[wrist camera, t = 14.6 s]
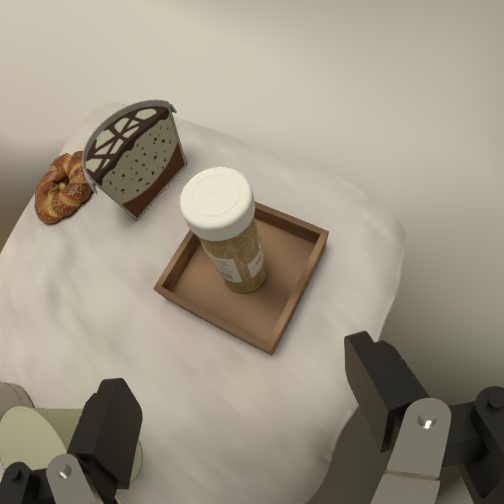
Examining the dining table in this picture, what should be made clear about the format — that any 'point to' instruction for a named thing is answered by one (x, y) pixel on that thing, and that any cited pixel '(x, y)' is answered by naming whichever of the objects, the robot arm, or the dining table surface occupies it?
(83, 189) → the pretzel
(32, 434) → the can
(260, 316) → the box
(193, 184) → the sprinkles bottle
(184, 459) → the dining table surface
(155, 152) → the food container
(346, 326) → the dining table surface
